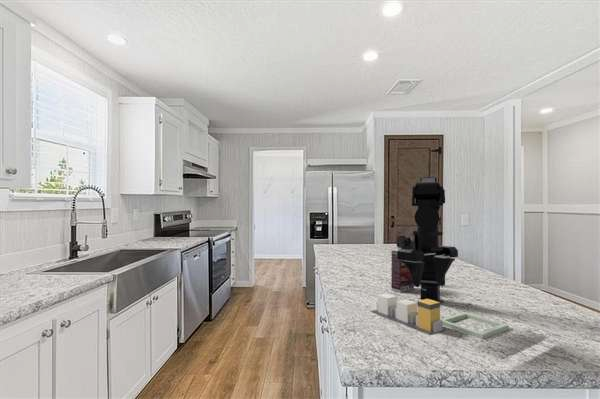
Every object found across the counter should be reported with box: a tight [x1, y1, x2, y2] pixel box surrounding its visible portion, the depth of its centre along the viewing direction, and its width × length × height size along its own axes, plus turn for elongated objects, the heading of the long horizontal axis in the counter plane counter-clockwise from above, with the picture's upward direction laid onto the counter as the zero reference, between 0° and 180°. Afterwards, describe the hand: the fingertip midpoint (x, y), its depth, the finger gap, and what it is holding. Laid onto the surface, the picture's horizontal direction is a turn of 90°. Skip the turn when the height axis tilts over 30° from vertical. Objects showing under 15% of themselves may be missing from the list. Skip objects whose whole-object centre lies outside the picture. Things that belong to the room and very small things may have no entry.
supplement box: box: [390, 249, 415, 293], centre depth 134 cm, size 9×5×16 cm, turn 123°
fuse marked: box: [416, 299, 441, 332], centre depth 89 cm, size 4×4×7 cm
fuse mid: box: [396, 298, 418, 323], centre depth 96 cm, size 4×4×5 cm
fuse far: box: [377, 293, 398, 315], centre depth 102 cm, size 4×4×5 cm
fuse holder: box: [370, 301, 450, 336], centre depth 95 cm, size 8×22×4 cm, turn 31°
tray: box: [440, 311, 510, 340], centre depth 90 cm, size 12×12×2 cm
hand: (428, 285), depth 90 cm, fingers open, 9 cm apart
